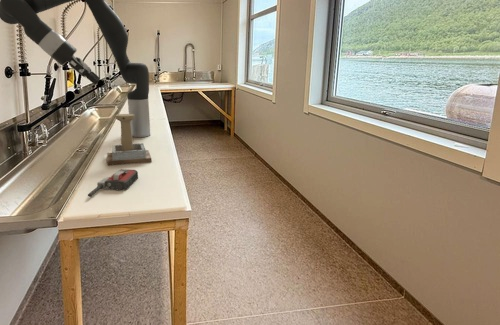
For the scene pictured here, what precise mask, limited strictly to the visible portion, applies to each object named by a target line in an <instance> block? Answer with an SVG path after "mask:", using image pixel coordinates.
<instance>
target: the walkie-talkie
mask: <svg viewBox="0 0 500 325" xmlns="http://www.w3.org/2000/svg"><path fill="white" fill-rule="evenodd" d="M138 179H139V171H138V170H136V169H126V168H125V169H121V168H120V169H119V170H117V171H115V173H113V174H112V175H111V176H107V177H104V178H102V179H101V180H99V181H98V182H97V184H96V185H97V186H96V187H95V188H94V189H93V190H92V191H90V192H89V193H87V197H89V198H91V197H93V196H94V195H95V194H96V193H97V192H98V191H99V190H107V191H108V190H110V191H127V190H128V189H129V188H130V187H132V185H133V184H134V183H135V182H136V181H137V180H138Z"/></svg>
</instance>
